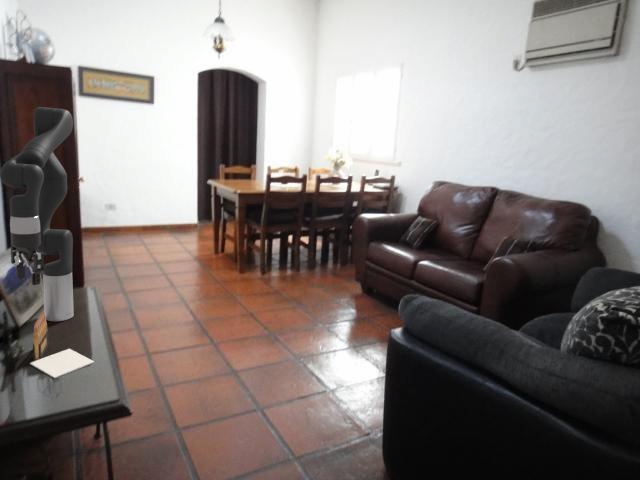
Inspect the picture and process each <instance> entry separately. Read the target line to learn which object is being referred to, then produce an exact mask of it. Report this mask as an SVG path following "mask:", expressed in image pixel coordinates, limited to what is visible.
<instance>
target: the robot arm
mask: <svg viewBox="0 0 640 480" xmlns="http://www.w3.org/2000/svg"><path fill="white" fill-rule="evenodd" d="M32 121H33V122H32V123H33V131H34V132H33V133H34V137H33V138H31V139H30V140H29V141H28V142H27V143H26V144H25V145H24V146H23V148H22V149H21V151H20V153H18V154H16V155H14V157H11V159H8V161H6V162H5V163H4V164H3V165H2V167H1V169H0V181H1V183H3V184H4V185H5V186H7V187H10V188H20V189H21V188H22V189H27V190H26V192H25V194H19V195H13V196H11V197H10V198H9V210H10V211H9V212H10V221H9V227H10V229H9V231H10V263H11V264H12V265H14V267H15V270H16V271H15V272H16V279H17V280H21V279H25V278H26V267H27V268H28V269H29V270H30V276H31V277H30V278H31V285H32V286H37V285H38V286H39V285H40V284H41V273H42V278H43V279H42V280H43V282H42V283H43V292H42V295H43V311H44V313H45V316H46V321H49V322H62V321H67V320H69V319H71V318H73V317H74V314H75V313H74V312H75V311H74V290H73V289H74V288H73V287H74V285H73V282H74V281H73V250H74V249H73V247H74V246H73V245H74V239H73V233H72V232H71V231H70V230H69V229H55V228H54V229H53V228H51V221H52V217H53V215H54V214H55V212H56V211H57V209H58V208H59V206H60V205H61V204H62V203H63V201H64V199H66V196H67V193H68V174H67V172H66V169H65V168H64V166H63V165H62V163H61V162H60V161H59V159H58V158H57V156H56V155H55V153H54V151H55V150H56V149H57V148H58V147H59V146H60V145H61V144H62V143H63V142H64V141H65V140H66V139H67V138H68V137H69V136H70V135H71V133H72V131H73V128H74V121H73V116H72V113H70V111H69V110H67V109H64V108H54V107H46V106H38V107H35V109H34V111H33V119H32ZM45 255H46V256H49V255H52V256H59V258H58V259H57V260H54V261H51V262H48V263H45V259H44V257H45Z"/></svg>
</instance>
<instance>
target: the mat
mask: <svg viewBox="0 0 640 480" xmlns="http://www.w3.org/2000/svg"><path fill="white" fill-rule="evenodd" d="M94 363H95V360H92V359H90V358H88V357H86V356H85V355H83V354H80V353H79V352H77V351H74V349H72V348H67V349H64V350H61V351H59V352H56V353H54V354H53V353H52V354H51V355H48V356H45V357H42V358H41V359H39V360H33V361H31V362H29V365H31V366H32V367H34V368H36V369H37V370H39V371H41V372H42V373H44V374H45V375H47V376H50V377H51V378H53V379H57V378H61V377H62V376H65V375H68V374H69V373H72V372H75V371H77V370H79V369H82V368H85V367H88V366H89V365H92V364H94Z"/></svg>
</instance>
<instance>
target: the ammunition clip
mask: <svg viewBox="0 0 640 480" xmlns="http://www.w3.org/2000/svg"><path fill="white" fill-rule="evenodd" d="M41 312H42V313H41V314H40V315H39V317H38V318H37V320H36V321H35V323H34V325H33V335H32V337H33V338H32V339H33V343H32V354H33V355H32V357H33V361H36V360H39V359H42V358H43V356H44V355H45V352H46V351H47V349H48V347H49V345H50V341H49V340H50V339H49V329H48V323H47V320H46V316H45V313H44V310H43V311H41Z"/></svg>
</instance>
